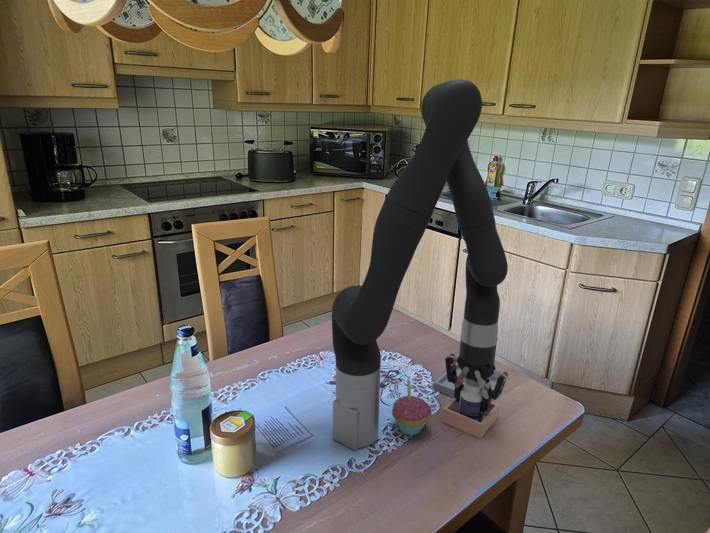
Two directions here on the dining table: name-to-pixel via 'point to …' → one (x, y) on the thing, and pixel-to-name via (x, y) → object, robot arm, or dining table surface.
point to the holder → (469, 419)
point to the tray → (448, 387)
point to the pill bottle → (471, 401)
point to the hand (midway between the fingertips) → (471, 404)
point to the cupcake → (411, 413)
